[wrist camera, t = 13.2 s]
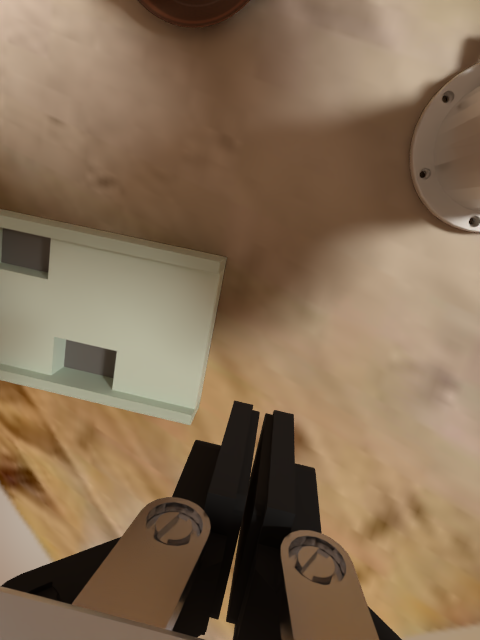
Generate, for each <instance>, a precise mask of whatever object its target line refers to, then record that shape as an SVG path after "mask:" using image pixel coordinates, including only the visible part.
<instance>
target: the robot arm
mask: <svg viewBox="0 0 480 640" xmlns="http://www.w3.org/2000/svg"><path fill="white" fill-rule="evenodd" d="M442 97H446V98H447V102H446V103H444V102H443V101H442ZM409 160H410V171H411V177H412V180H413V184H414V187H415V190H416V192H417V194H418V195H419V197H420V199H421V201H422V203H423V204H424V205H425V206H426V207H427V208H428V210H429V211H430V212H431V213H432V214H433V215H435V216H436V217H437V218H439V219H440V220H441V221H442V222H444V223H446V224H448V225H450V226H453V227H455V228H458V229H461V230H465V231H469V232H478V233H480V63H477V64H475V65H473V66H471V67H469V68H468V69H466V70H464V71H463V72H461V73H459V74H458V75H456V76H455V77H454V78H453V79H451V80H450V81H449V82H447V83H446V84H445V85H444V86H443V87H442V88H441V89H440V90H439V91H438V92H437V93H436V94H435V95H434V96H433V98H432V99H431V101H430V102H429V103H428V105H427V106H426V108H425V109H424V110H423V112H422V114H421V116H420V119H419V121H418V123H417V125H416V127H415V131H414V134H413V138H412V141H411V148H410V158H409ZM421 171H423V172H424V173H425V176H424V177H423V178H421V177H420V172H421ZM470 218H472V219H473V222H472V224H469V219H470ZM252 409H253V405H251V404H247V403H242V402H238V401H234V404H233V407H232V411H231V414H230V418H229V421H228V424H227V428H226V431H225V435H224V438H223V442H222V445H221V446H220V445H216V444H212V443H208V442H204V441H199V440H195V442H194V445H193V447H192V450H191V452H190V455H189V457H188V459H187V462H186V464H185V467H184V469H183V472H182V474H181V476H180V479H179V481H178V484H177V486H176V489H175V491H174V494H173V496H172V497H166V498H162V499H157V500H155V501H153V502H151V503H149V504H148V505H147V506H145V507H144V508H143V509H142V510H141V512H140V513H139V514H138V516H137V517H136V518H135V520H134V521H133V522H132V524H131V525H130V526H129V528H128V529H127V530H126V532H125V533H124V534H123V536H122V537H120V538H117V539H114V540H112V541H109V542H106V543H103V544H101V545H98V546H95V547H93V548H90V549H87V550H85V551H82V552H79V553H77V554H74V555H71V556H69V557H66V558H63V559H61V560H58V561H55V562H52V563H50V564H47V565H44V566H42V567H39V568H36V569H34V570H31V571H28V572H26V573H23V574H21V575H19V576H17V577H15V578H13V579H11V580H9V581H7V582H6V583H4V584H3V585H2V586H0V640H204V639H200V638H197V637H198V636H200V635H205V632H206V630H207V626H208V621H209V617H211V618H214V619H219V615H220V611H221V606H222V602H223V598H224V594H225V590H226V585H227V581H228V577H229V573H230V569H231V564H232V560H233V556H234V552H235V548H236V543H237V539H238V535H239V540H238V547H237V553H236V560H235V566H234V573H233V579H232V586H231V592H230V598H229V605H228V611H227V618H226V622H229V623H233V624H235V628H234V636H233V640H402V639H401V638H400V637H399V636H398V635H397V634H396V633H395V632H394V631H393V630H392V629H391V628H390V627H389V626H387V625H386V624H385V623H384V622H383V621H382V620H381V619H380V618H379V617H378V616H377V615H376V614H375V613H374V612H373V611H372V610H371V609H370V608H369V607H368V606H367V603H366V600H365V597H364V594H363V591H362V588H361V585H360V583H359V580H358V577H357V574H356V571H355V568H354V565H353V563H352V561H351V559H350V557H349V555H348V553H347V552H346V551H345V550H344V549H343V548H342V547H341V545H339V544H338V543H337V542H335V541H334V540H333V539H331V538H330V537H328V536H326V535H324V534H321V524H320V514H319V503H318V493H317V483H316V473H315V469H314V468H312V467H308V466H304V465H299V464H295V458H294V414H289V413H285V412H281V411H277V410H274V412H273V415H271V414H267V413H266V414H265V417H264V422H263V426H262V430H261V434H260V438H259V443H258V447H257V451H256V455H255V460H254V464H253V468H252V472H251V467H252V460H253V454H254V447H255V440H256V433H257V427H258V420H259V413H260V412H258V411H254V410H252ZM250 474H251V476H250ZM249 480H250V481H249ZM240 527H241V528H240ZM239 531H240V534H239Z"/></svg>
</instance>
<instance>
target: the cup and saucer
mask: <svg viewBox="0 0 480 640" xmlns="http://www.w3.org/2000/svg"><path fill="white" fill-rule="evenodd" d="M138 1H139V2H140V3H141V4H142V5H143V6H144V7H145V8H146V9H147V10H148V11H150V12H151V13H152V14H154V15H155V16H157V17H158V18H160V19H162V20H164V21H166V22H169V23H171V24H174V25H178V26H182V27H193V28H197V27H205V26H210V25H213V24H217V23H219V22H221V21H224V20H226V19H227V18H229V17H231V16H233V15H234V14H235V13H237V12H238V11H239V10H240V9H242V8H243V7H244V6H245V5H246V4H247V3H248V2H249V1H250V0H138Z"/></svg>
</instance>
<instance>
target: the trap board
mask: <svg viewBox="0 0 480 640" xmlns="http://www.w3.org/2000/svg"><path fill="white" fill-rule="evenodd" d="M226 260H227V257H224V256H219V255H215V254H210V253H205V252H200V251H196V250H191V249H186V248H182V247H177V246H172V245H168V244H163V243H158V242H153V241H149V240H144V239H139V238H135V237H130V236H125V235H121V234H116V233H111V232H107V231H102V230H97V229H92V228H88V227H83V226H78V225H74V224H69V223H64V222H60V221H55V220H50V219H45V218H41V217H36V216H31V215H27V214H22V213H17V212H13V211H8V210H3V209H0V380H3V381H7V382H11V383H15V384H20V385H24V386H28V387H32V388H36V389H41V390H45V391H49V392H53V393H57V394H62V395H66V396H70V397H74V398H78V399H83V400H87V401H91V402H95V403H99V404H104V405H108V406H112V407H116V408H120V409H125V410H129V411H133V412H137V413H141V414H145V415H150V416H154V417H158V418H162V419H166V420H171V421H175V422H179V423H183V424H187V425H191V423H192V421H193V418H194V416H195V414H196V412H197V410H198V408H199V404H200V398H201V393H202V388H203V382H204V377H205V372H206V366H207V361H208V356H209V350H210V345H211V340H212V334H213V329H214V324H215V318H216V313H217V308H218V302H219V297H220V292H221V286H222V281H223V276H224V270H225V265H226Z"/></svg>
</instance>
